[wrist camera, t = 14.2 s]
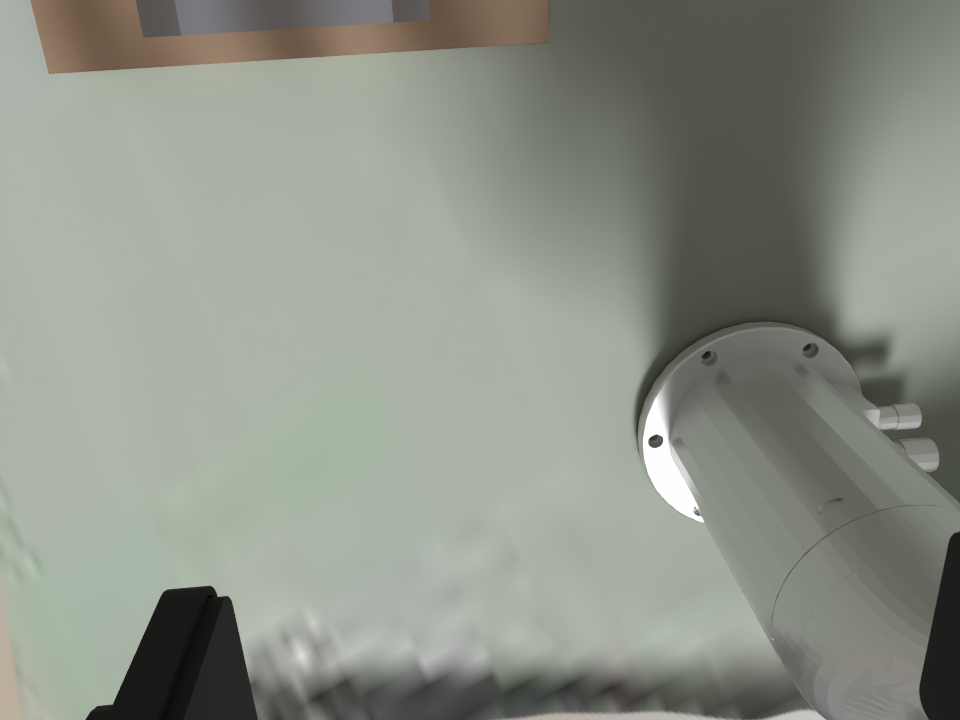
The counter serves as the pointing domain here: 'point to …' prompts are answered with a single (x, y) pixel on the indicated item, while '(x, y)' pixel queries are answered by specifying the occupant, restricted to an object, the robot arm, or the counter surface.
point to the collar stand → (270, 29)
